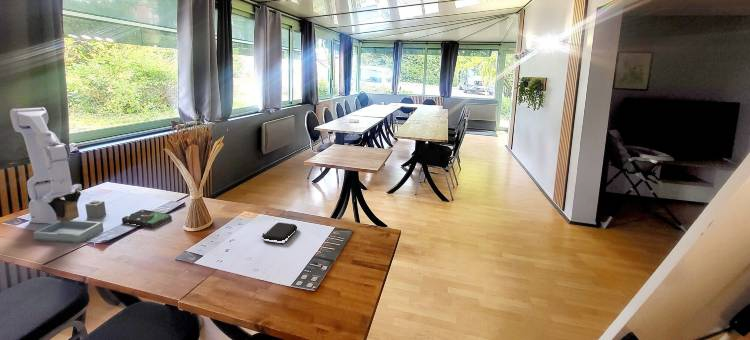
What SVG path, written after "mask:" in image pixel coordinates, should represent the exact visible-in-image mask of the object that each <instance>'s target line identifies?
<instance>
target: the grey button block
mask: <svg viewBox="0 0 750 340" xmlns="http://www.w3.org/2000/svg"><path fill="white" fill-rule="evenodd" d="M84 205H85V212H86V218H87V219H93V220H99V219H100V218H103V217H105V216H106V215H107V213H106V212H107V209H106V205H105V201H104V200H91V201H90V202H88V203H86V204H84ZM104 215H105V216H104Z"/></svg>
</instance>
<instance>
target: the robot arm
mask: <svg viewBox="0 0 750 340" xmlns="http://www.w3.org/2000/svg"><path fill="white" fill-rule="evenodd" d="M9 115H10V116H9V117H10V120H11V121H10V122H11V124H12V128H13V129H14V132H17V133H21V135H22V137H23V140H24V143H25V147H26V150H27V155H28V158H29V161H30V165H31V169H32V172H33V176H31V177H30V178H29V179H28V180H27V181H26V187H27V188H26V190H27V194H28V197H29V199H30V201H29V203H28V210H29V216H30V220H29V223H34V224H36V223H38V224H49V225H51V224H53V223H55V222H57V218H56V215H57V217H61V218H63V217H65V211H64V205H65V201H76V202H77V203H78V201H79V200H80V197H81V195H82V193H81V190H82V189H83V188H82V184H80V183H75V184H73V181H72V177H71V172H70V166H69V165H70V164H69V161H70V160H71V154H70V153H71V152H70V150H69V147H68V146H67V144H66V143H63V142H61V141H60V139H59V137H58V135H56V133H55V132H53V131H51V130H49V128H48V126H47V125H48V124H49V123H48V122H49V113H48V111H47V109H46V108H45V107H43V106H41V107H30V108H29V107H27V108H25V107H24V108H11V109H10V111H9ZM62 197H63V198H62Z"/></svg>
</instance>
